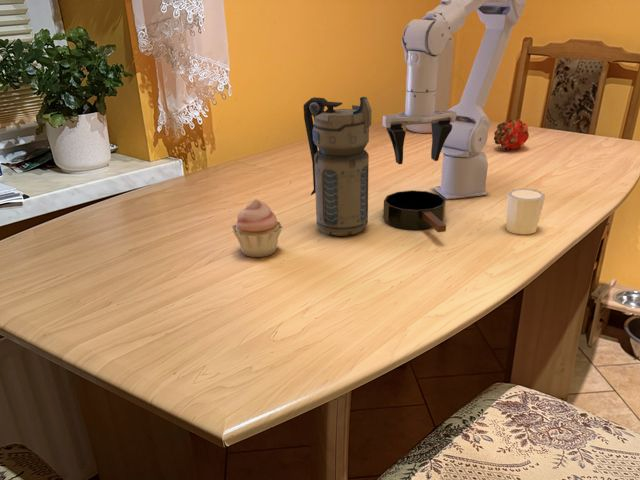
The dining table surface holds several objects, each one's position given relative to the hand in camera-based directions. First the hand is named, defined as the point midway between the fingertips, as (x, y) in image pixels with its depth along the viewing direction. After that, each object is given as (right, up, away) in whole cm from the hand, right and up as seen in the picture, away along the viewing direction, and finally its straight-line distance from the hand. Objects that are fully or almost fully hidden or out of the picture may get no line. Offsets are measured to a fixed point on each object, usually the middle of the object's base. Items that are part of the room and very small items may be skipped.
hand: (416, 161), depth 129 cm
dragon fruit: (+32, +16, +45) cm, 58 cm away
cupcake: (-31, -20, -11) cm, 38 cm away
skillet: (+1, -14, -2) cm, 14 cm away
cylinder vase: (+13, +29, +66) cm, 74 cm away
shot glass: (+20, -15, -5) cm, 25 cm away
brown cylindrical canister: (-16, -14, -2) cm, 21 cm away
